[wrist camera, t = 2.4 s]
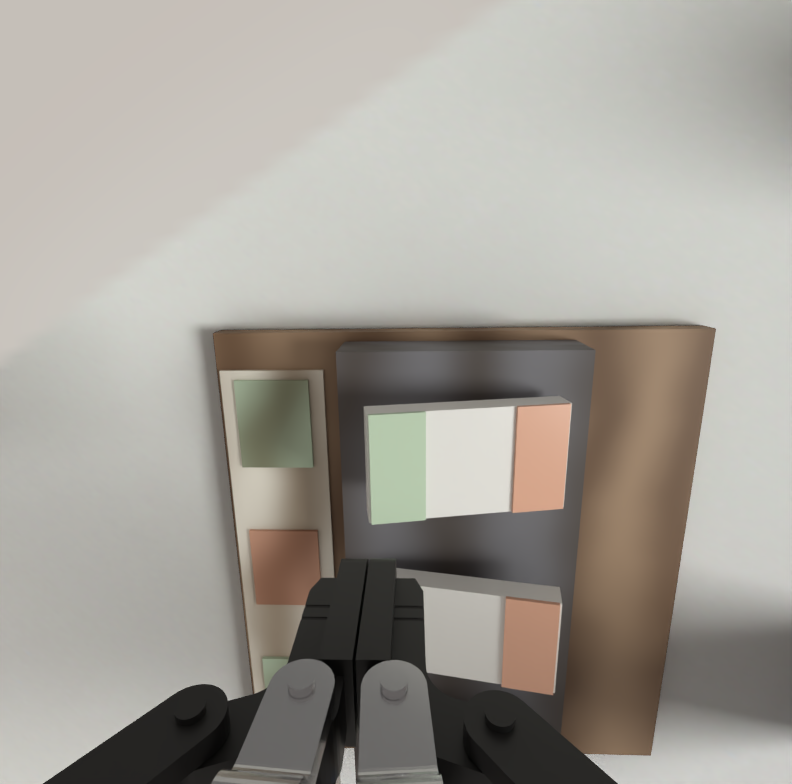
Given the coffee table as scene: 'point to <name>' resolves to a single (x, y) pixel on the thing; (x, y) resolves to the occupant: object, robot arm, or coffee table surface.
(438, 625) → the switch
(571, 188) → the coffee table surface
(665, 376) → the switch unit
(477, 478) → the switch
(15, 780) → the coffee table surface
